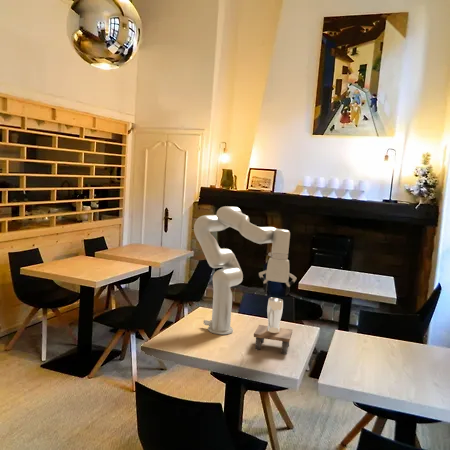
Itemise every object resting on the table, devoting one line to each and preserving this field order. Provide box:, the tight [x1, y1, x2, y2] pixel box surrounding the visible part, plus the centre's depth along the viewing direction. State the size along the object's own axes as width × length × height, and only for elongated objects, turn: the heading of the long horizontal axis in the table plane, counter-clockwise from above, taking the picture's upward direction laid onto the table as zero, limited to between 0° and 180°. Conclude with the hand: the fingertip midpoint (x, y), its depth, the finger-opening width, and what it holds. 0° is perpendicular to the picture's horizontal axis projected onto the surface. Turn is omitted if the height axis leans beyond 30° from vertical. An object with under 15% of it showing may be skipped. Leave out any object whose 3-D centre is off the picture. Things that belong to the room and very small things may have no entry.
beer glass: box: [266, 297, 284, 334], centre depth 202 cm, size 7×7×15 cm
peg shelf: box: [253, 324, 293, 355], centre depth 203 cm, size 16×14×8 cm
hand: (275, 293), depth 201 cm, fingers open, 9 cm apart
